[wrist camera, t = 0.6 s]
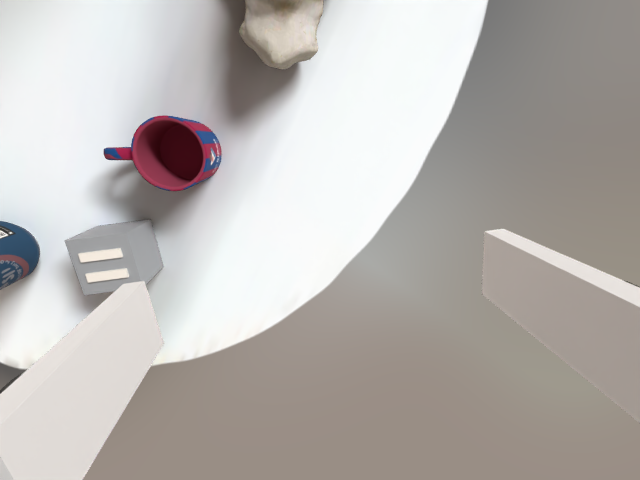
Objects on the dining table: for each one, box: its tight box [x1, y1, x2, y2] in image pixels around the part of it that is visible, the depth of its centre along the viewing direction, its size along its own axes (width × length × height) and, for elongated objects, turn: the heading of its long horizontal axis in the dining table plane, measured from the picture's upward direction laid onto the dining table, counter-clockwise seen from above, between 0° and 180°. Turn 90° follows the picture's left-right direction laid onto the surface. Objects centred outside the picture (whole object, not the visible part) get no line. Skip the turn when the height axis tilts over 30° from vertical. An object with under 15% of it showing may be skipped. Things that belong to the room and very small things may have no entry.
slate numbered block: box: [65, 219, 164, 295], centre depth 36 cm, size 6×6×6 cm
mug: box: [104, 116, 221, 191], centre depth 33 cm, size 7×10×7 cm
